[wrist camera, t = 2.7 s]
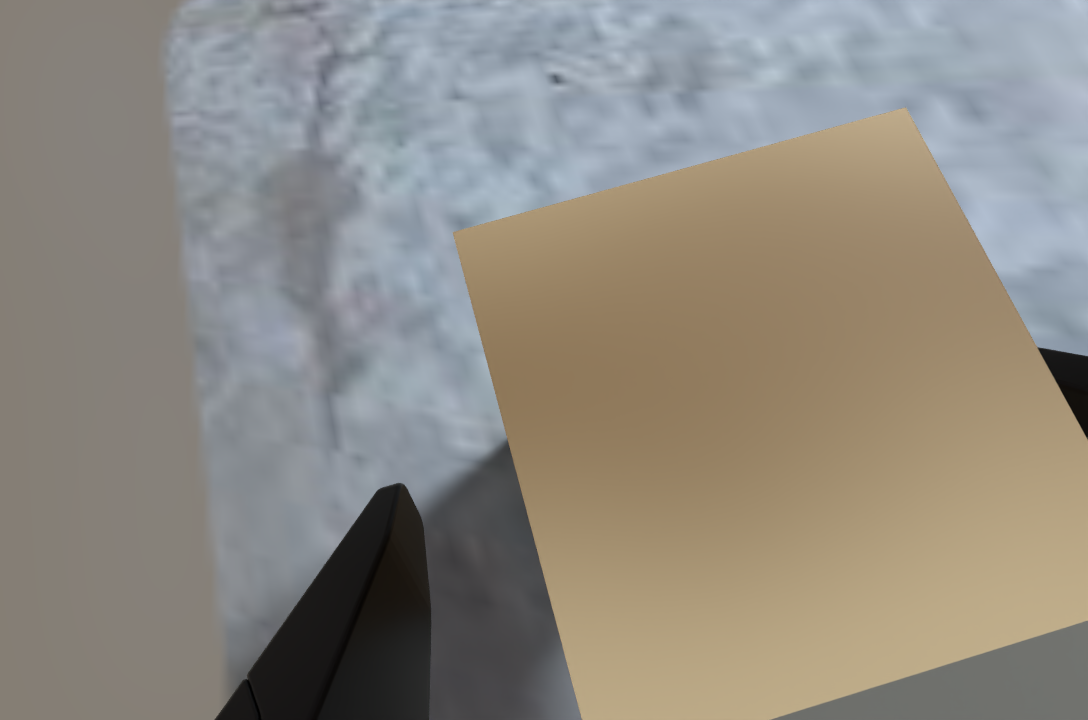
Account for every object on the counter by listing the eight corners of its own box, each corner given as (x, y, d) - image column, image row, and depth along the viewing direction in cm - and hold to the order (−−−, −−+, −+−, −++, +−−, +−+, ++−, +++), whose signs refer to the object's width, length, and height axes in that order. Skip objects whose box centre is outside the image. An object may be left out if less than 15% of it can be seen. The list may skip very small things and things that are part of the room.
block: (716, 522, 16) (1171, 595, 4) (572, 565, 16) (596, 773, 4) (667, 381, 17) (906, 106, 5) (532, 420, 17) (452, 232, 5)
